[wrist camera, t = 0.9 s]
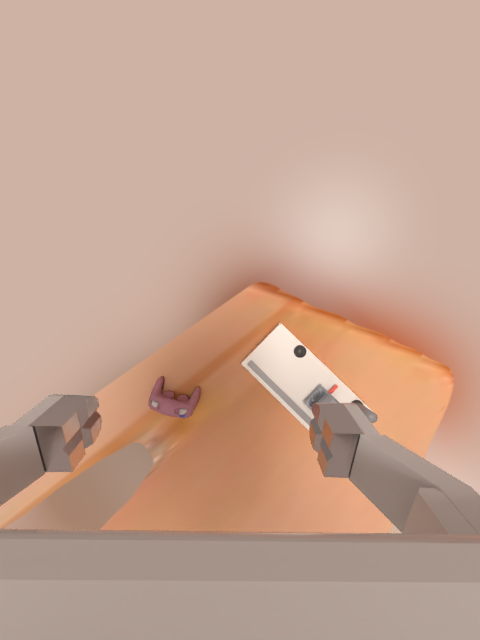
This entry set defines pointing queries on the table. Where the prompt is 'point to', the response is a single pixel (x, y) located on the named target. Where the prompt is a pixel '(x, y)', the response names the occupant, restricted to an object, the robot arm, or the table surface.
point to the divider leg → (321, 396)
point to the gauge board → (295, 374)
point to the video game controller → (172, 401)
